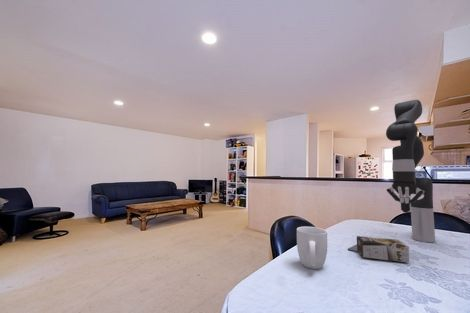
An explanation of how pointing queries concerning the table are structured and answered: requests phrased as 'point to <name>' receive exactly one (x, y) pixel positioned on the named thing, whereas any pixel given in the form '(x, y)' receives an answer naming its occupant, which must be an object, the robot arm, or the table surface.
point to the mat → (354, 249)
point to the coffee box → (382, 249)
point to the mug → (312, 246)
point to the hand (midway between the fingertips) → (405, 212)
